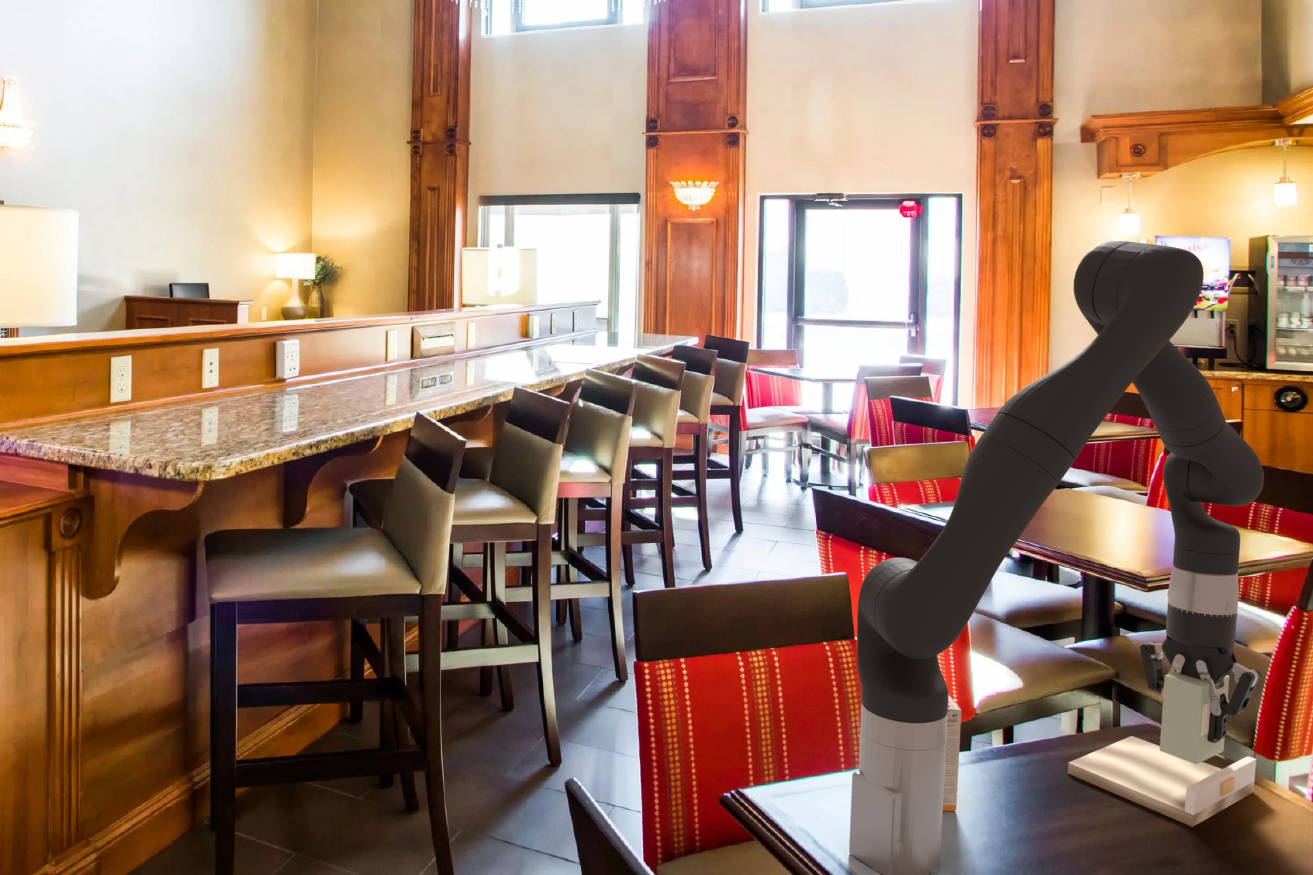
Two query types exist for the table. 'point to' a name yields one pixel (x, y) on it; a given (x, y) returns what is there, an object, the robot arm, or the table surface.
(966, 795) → the table surface
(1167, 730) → the carton
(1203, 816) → the shelf board
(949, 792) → the supplement box
